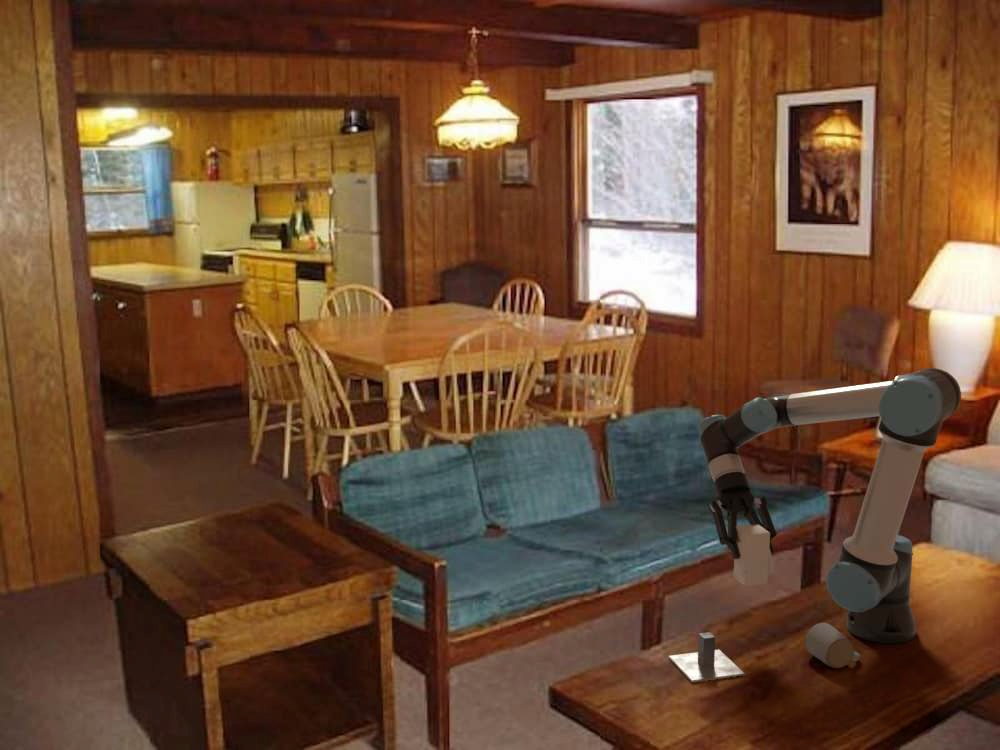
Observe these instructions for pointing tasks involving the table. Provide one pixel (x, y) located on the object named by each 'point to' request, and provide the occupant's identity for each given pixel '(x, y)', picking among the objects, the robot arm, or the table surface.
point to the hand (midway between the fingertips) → (758, 570)
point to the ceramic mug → (830, 646)
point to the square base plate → (706, 662)
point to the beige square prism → (753, 555)
